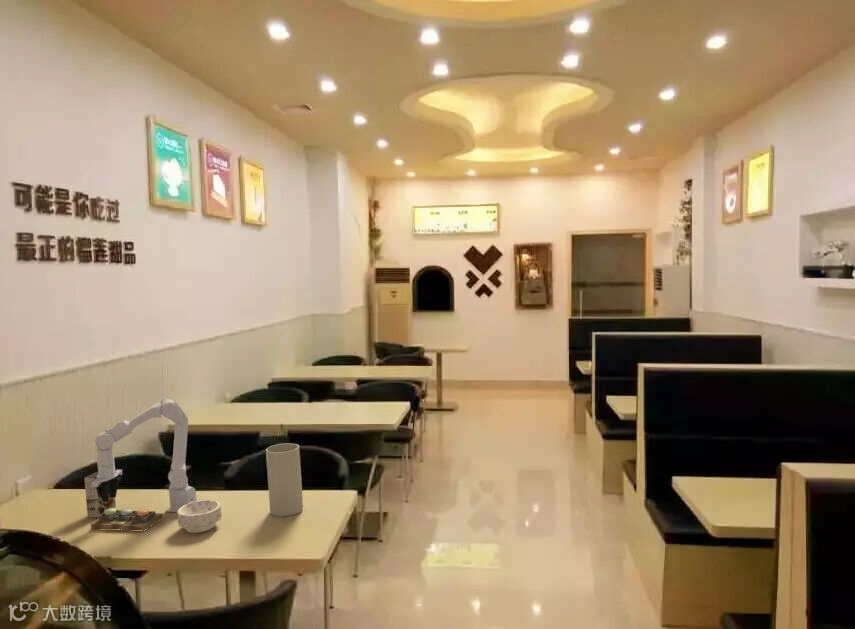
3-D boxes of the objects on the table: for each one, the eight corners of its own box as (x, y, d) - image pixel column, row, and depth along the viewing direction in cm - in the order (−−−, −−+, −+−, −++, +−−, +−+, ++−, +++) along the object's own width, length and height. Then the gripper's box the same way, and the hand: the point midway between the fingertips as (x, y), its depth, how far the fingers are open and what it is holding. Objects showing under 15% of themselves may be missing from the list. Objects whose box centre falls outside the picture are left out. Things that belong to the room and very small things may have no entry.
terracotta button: (151, 513, 246) (151, 509, 246) (144, 517, 242) (144, 513, 242) (142, 513, 247) (141, 508, 247) (135, 517, 243) (135, 512, 243)
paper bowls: (181, 540, 229) (179, 518, 228) (176, 525, 242) (174, 505, 242) (225, 530, 236) (224, 509, 235) (218, 516, 249) (216, 496, 248)
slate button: (135, 512, 247) (134, 508, 247) (128, 516, 243) (127, 512, 243) (125, 512, 248) (125, 508, 248) (118, 516, 244) (118, 512, 244)
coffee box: (101, 518, 253) (97, 477, 252) (86, 517, 255) (83, 477, 253) (116, 509, 262) (113, 470, 261) (102, 508, 263) (99, 469, 262)
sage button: (118, 512, 249) (118, 508, 248) (111, 516, 245) (111, 512, 245) (109, 511, 249) (109, 507, 249) (102, 515, 246) (102, 511, 245)
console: (163, 518, 250) (162, 508, 249) (143, 531, 238) (142, 520, 238) (112, 516, 254) (111, 506, 254) (91, 529, 242) (90, 518, 242)
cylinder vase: (280, 520, 243) (275, 454, 241) (264, 511, 252) (260, 448, 250) (309, 510, 251) (305, 447, 249) (292, 502, 260) (288, 441, 258)
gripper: (109, 458, 253) (112, 492, 254) (83, 470, 239) (86, 506, 240) (125, 458, 252) (128, 492, 253) (100, 470, 238) (103, 506, 239)
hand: (109, 499), depth 247 cm, fingers open, 4 cm apart
